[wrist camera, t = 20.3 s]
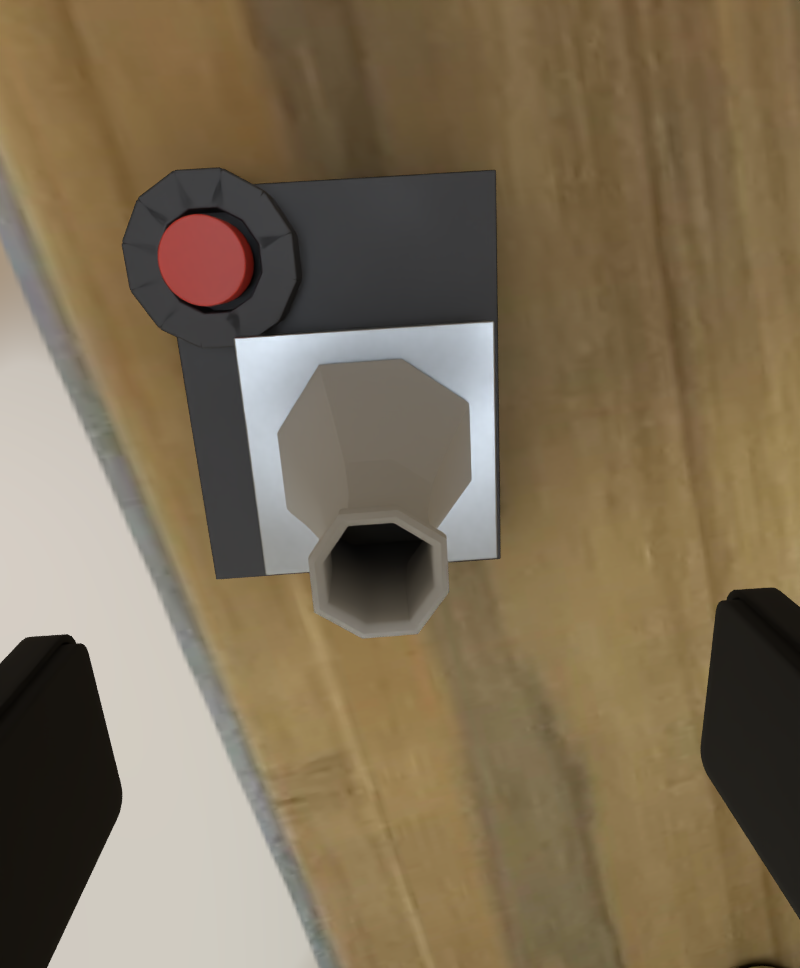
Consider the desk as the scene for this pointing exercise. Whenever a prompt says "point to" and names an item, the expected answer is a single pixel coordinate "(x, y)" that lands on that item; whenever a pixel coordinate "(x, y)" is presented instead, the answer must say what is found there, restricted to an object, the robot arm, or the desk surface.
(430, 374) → the pan
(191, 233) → the tare button
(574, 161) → the desk surface
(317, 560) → the flask
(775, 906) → the desk surface
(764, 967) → the ceramic model
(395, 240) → the scale
